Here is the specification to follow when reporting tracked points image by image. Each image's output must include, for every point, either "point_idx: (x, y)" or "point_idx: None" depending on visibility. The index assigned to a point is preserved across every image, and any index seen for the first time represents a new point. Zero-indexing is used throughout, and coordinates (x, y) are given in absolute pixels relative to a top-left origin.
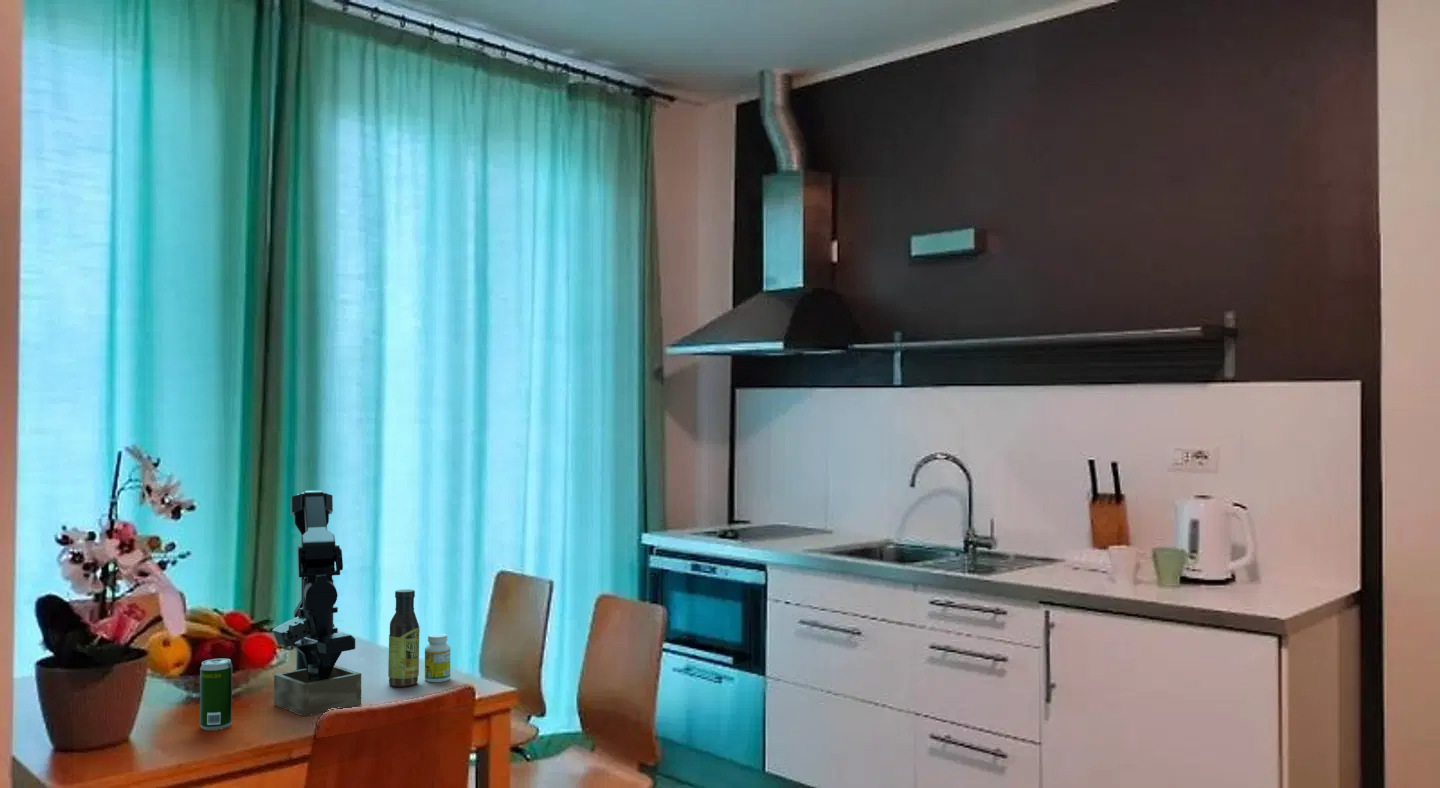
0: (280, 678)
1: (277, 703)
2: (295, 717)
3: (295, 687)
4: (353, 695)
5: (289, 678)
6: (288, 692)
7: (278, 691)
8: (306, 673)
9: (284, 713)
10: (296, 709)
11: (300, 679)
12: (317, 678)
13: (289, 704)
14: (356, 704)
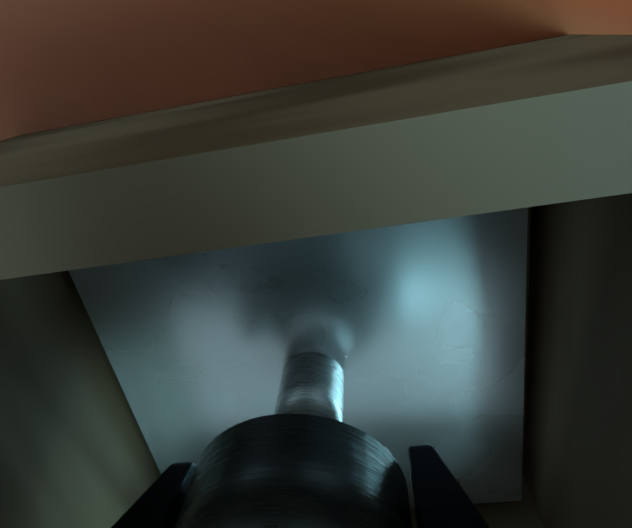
0: (530, 90)
1: (503, 49)
2: (23, 70)
3: (1, 172)
4: None
5: (267, 199)
6: (238, 114)
7: (522, 58)
8: (620, 495)
9: (202, 26)
10: (119, 121)
11: (600, 388)
12: (188, 489)
13: (242, 99)
14: None
